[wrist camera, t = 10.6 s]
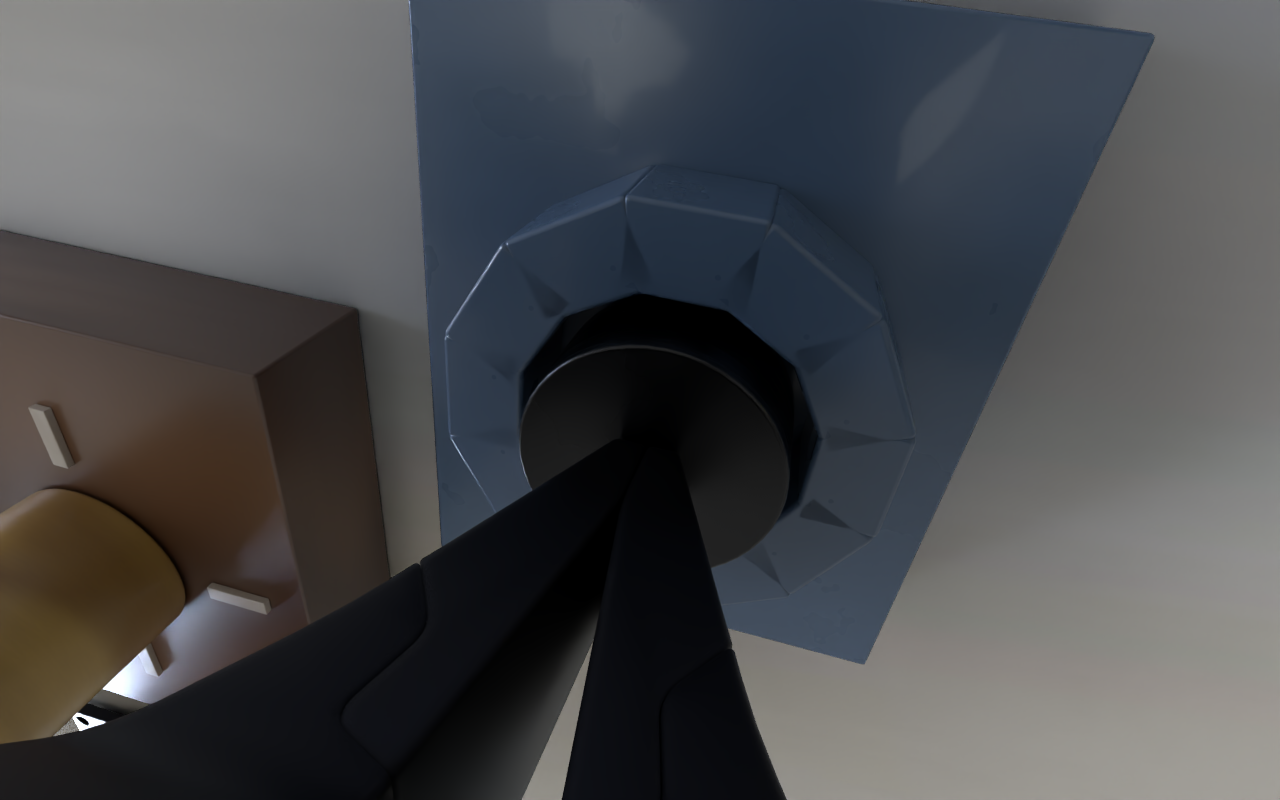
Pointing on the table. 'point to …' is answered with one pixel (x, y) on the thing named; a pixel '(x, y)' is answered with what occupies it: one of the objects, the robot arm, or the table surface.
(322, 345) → the dial panel
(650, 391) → the button
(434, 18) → the button box
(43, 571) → the dial
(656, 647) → the robot arm
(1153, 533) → the table surface
